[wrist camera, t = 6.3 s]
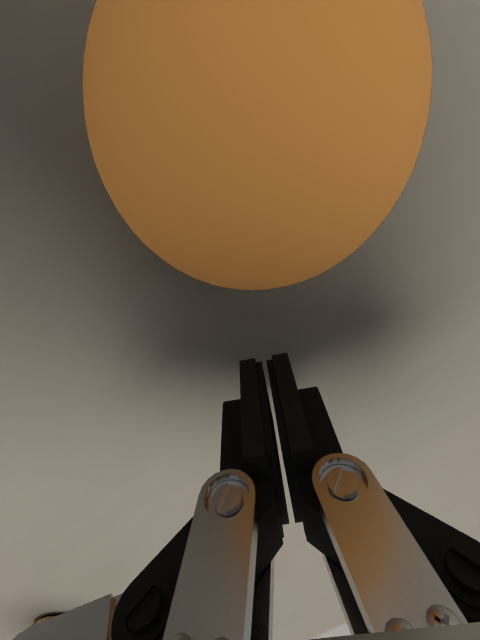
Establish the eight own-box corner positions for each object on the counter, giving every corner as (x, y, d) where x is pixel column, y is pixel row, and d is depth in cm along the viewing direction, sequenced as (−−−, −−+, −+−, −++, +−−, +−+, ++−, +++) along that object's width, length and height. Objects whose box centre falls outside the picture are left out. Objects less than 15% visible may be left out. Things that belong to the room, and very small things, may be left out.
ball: (61, 351, 4) (167, 277, 10) (512, 310, 4) (354, 258, 10) (-152, -340, 2) (127, 55, 8) (652, -521, 2) (356, 22, 8)
